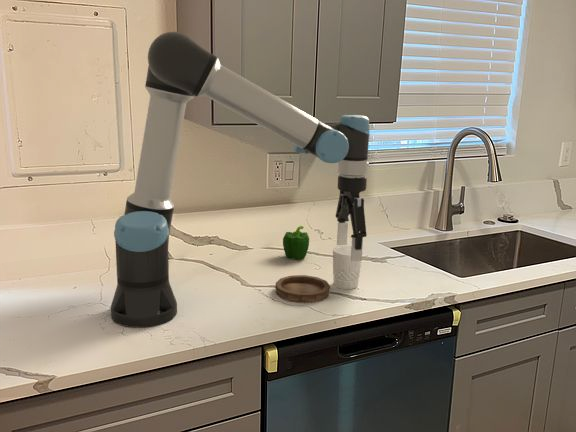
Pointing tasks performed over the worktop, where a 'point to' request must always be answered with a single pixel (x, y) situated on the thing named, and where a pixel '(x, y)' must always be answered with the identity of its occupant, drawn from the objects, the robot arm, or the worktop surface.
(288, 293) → the ring tray
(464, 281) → the worktop surface
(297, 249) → the bell pepper
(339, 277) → the white cup
